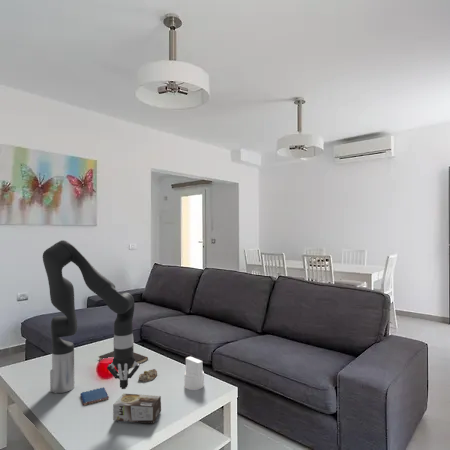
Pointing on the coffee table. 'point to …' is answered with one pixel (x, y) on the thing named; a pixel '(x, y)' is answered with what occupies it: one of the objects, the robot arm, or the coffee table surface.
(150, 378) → the mineral rock
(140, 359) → the hardcover book
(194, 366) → the cylinder with rectangular tab
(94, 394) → the woven mat
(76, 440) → the coffee table surface
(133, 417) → the coffee box
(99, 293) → the robot arm
